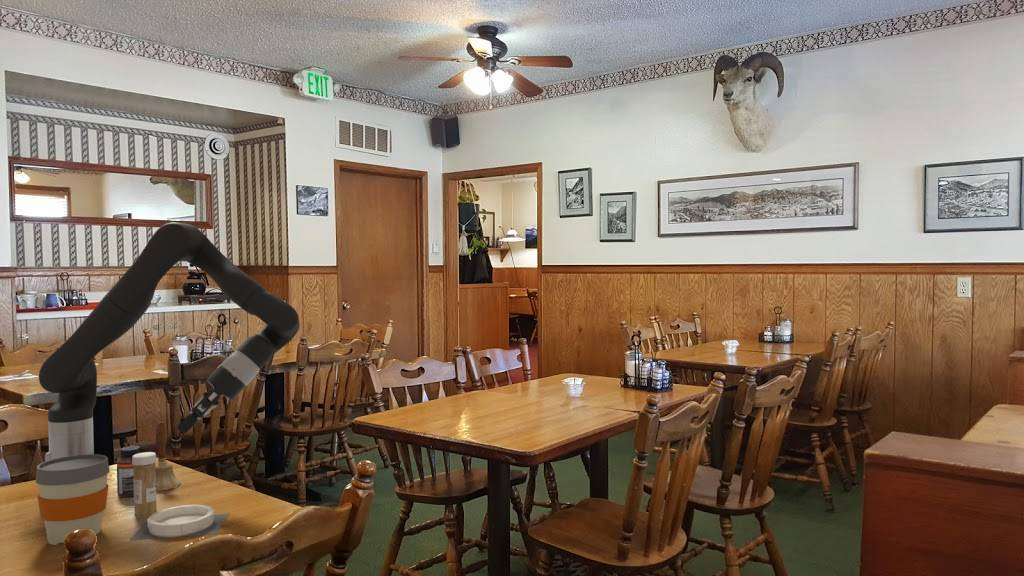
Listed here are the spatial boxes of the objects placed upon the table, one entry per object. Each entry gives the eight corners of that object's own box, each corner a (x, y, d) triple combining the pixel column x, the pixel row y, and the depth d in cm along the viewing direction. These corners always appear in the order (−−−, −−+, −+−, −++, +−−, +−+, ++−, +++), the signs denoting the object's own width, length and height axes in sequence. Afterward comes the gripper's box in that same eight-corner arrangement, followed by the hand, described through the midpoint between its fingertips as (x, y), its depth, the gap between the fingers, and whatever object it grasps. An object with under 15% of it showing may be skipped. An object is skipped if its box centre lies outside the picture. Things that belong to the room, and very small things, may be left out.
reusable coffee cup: (32, 553, 131) (30, 474, 131) (41, 532, 142) (39, 458, 142) (109, 541, 137) (107, 465, 136) (112, 521, 148) (110, 451, 147)
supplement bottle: (124, 491, 168) (123, 444, 168) (150, 490, 168) (149, 444, 168) (112, 499, 162) (111, 451, 162) (139, 498, 163) (138, 450, 162)
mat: (129, 543, 136) (129, 540, 136) (149, 521, 147) (149, 518, 147) (216, 536, 139) (216, 533, 138) (229, 516, 150) (229, 513, 150)
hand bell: (186, 485, 173) (185, 421, 172) (151, 493, 166) (150, 427, 166) (172, 479, 178) (170, 416, 178) (137, 486, 172) (136, 422, 171)
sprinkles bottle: (158, 516, 150) (157, 454, 150) (134, 521, 148) (133, 458, 148) (155, 510, 154) (154, 450, 154) (132, 514, 152) (131, 453, 151)
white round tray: (140, 539, 136) (139, 527, 136) (159, 518, 148) (159, 506, 148) (205, 534, 138) (205, 522, 138) (219, 514, 150) (219, 502, 150)
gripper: (220, 367, 167) (168, 421, 160) (222, 361, 154) (165, 419, 147) (245, 387, 168) (194, 441, 161) (248, 383, 155) (194, 442, 149)
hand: (180, 431), depth 154 cm, fingers open, 8 cm apart
